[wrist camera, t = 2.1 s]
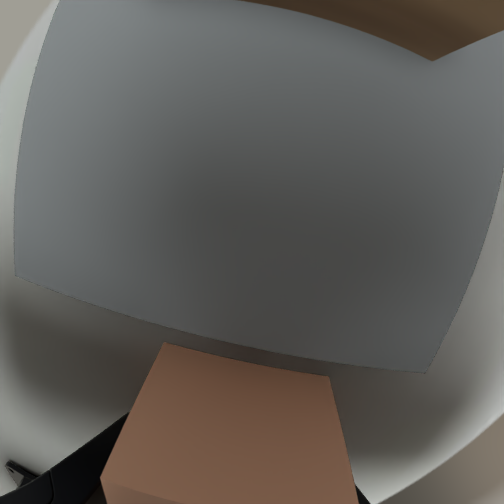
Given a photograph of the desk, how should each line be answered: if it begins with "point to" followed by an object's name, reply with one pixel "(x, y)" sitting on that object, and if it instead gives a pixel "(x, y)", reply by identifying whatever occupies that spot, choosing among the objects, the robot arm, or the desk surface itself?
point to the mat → (259, 176)
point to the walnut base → (410, 20)
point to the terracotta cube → (229, 436)
